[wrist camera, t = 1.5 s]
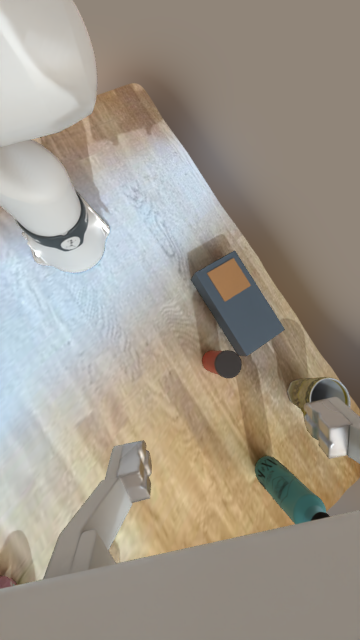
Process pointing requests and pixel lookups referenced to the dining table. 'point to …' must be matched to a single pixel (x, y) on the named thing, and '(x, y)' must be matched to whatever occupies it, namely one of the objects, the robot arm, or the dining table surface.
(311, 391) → the ceramic cup
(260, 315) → the platform
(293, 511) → the beverage bottle
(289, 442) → the dining table surface
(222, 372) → the red canister
